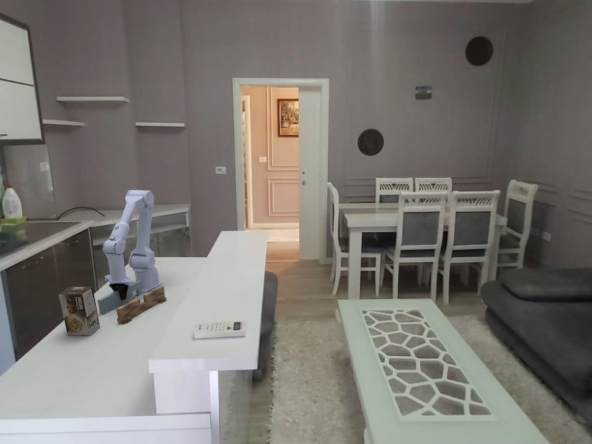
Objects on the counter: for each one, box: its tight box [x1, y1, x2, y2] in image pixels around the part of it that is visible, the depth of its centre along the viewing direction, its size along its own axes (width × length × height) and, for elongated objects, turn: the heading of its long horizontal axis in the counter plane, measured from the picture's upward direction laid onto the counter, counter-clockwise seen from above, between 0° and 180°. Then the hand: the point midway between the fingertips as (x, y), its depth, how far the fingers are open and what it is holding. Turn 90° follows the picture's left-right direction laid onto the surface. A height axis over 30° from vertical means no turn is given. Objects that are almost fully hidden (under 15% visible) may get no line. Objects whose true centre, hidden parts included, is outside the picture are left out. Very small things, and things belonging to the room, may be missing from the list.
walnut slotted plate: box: [115, 285, 167, 325], centre depth 152 cm, size 22×4×6 cm, turn 153°
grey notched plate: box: [97, 280, 144, 315], centre depth 159 cm, size 20×2×6 cm, turn 153°
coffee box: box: [58, 285, 101, 336], centre depth 137 cm, size 9×6×16 cm
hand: (121, 298), depth 159 cm, fingers closed on grey notched plate, 2 cm apart
